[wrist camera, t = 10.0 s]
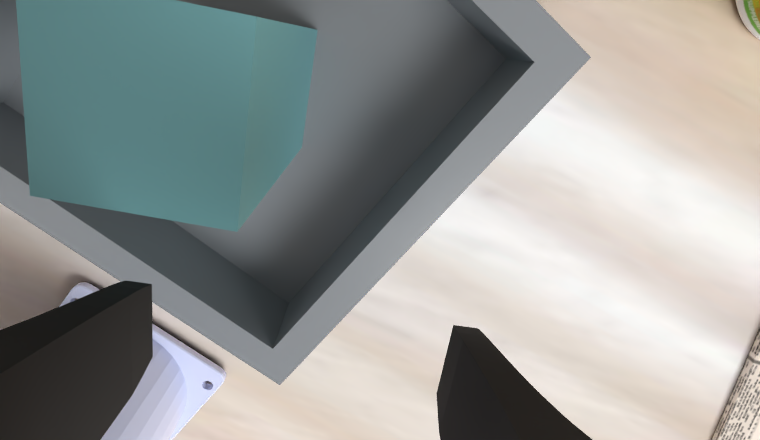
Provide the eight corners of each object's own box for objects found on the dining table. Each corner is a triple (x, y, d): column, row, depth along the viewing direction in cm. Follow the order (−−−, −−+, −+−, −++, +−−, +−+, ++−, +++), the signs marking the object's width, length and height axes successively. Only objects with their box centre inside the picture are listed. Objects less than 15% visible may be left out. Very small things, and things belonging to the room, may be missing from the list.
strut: (302, 147, 19) (237, 231, 10) (190, 126, 18) (29, 195, 10) (317, 30, 17) (256, 16, 9) (195, 5, 17) (13, -34, 9)
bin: (296, 327, 22) (279, 385, 19) (-27, 104, 19) (-128, 119, 15) (547, 54, 18) (590, 57, 14) (190, -303, 15) (124, -424, 11)
